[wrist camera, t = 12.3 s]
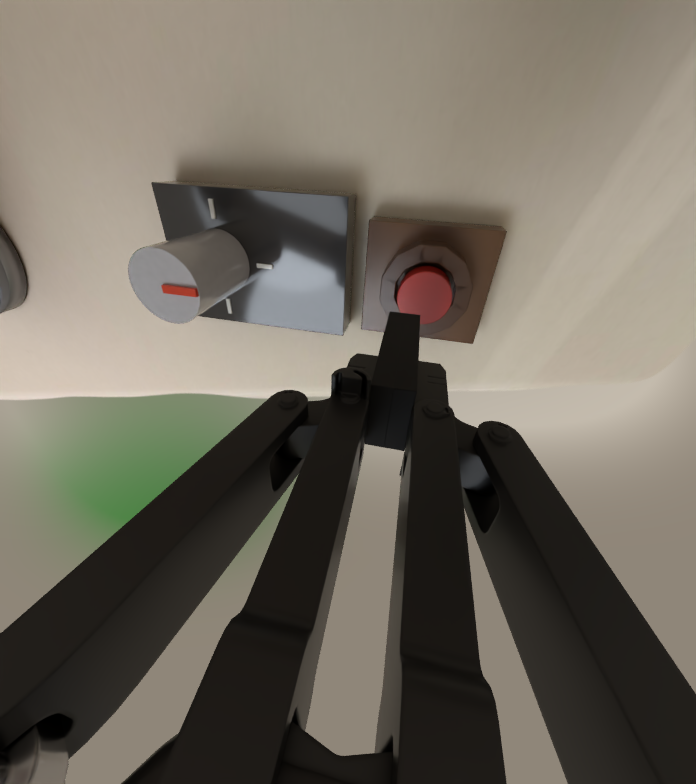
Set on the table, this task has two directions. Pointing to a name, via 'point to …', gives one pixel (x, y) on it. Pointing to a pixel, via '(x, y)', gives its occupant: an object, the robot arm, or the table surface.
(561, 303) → the table surface
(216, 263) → the stove knob
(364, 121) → the table surface
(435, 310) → the power button
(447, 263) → the block
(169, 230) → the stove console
